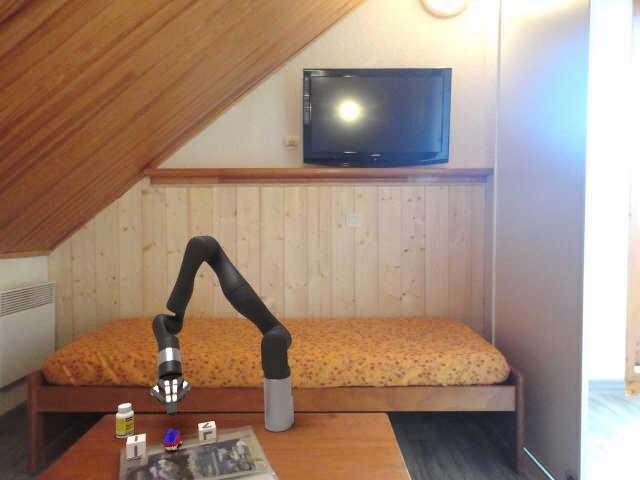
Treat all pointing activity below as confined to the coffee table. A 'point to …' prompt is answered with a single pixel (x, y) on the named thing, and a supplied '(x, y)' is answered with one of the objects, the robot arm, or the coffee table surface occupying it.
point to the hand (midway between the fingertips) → (172, 415)
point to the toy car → (172, 438)
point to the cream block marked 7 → (207, 430)
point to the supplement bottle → (124, 421)
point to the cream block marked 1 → (136, 445)
